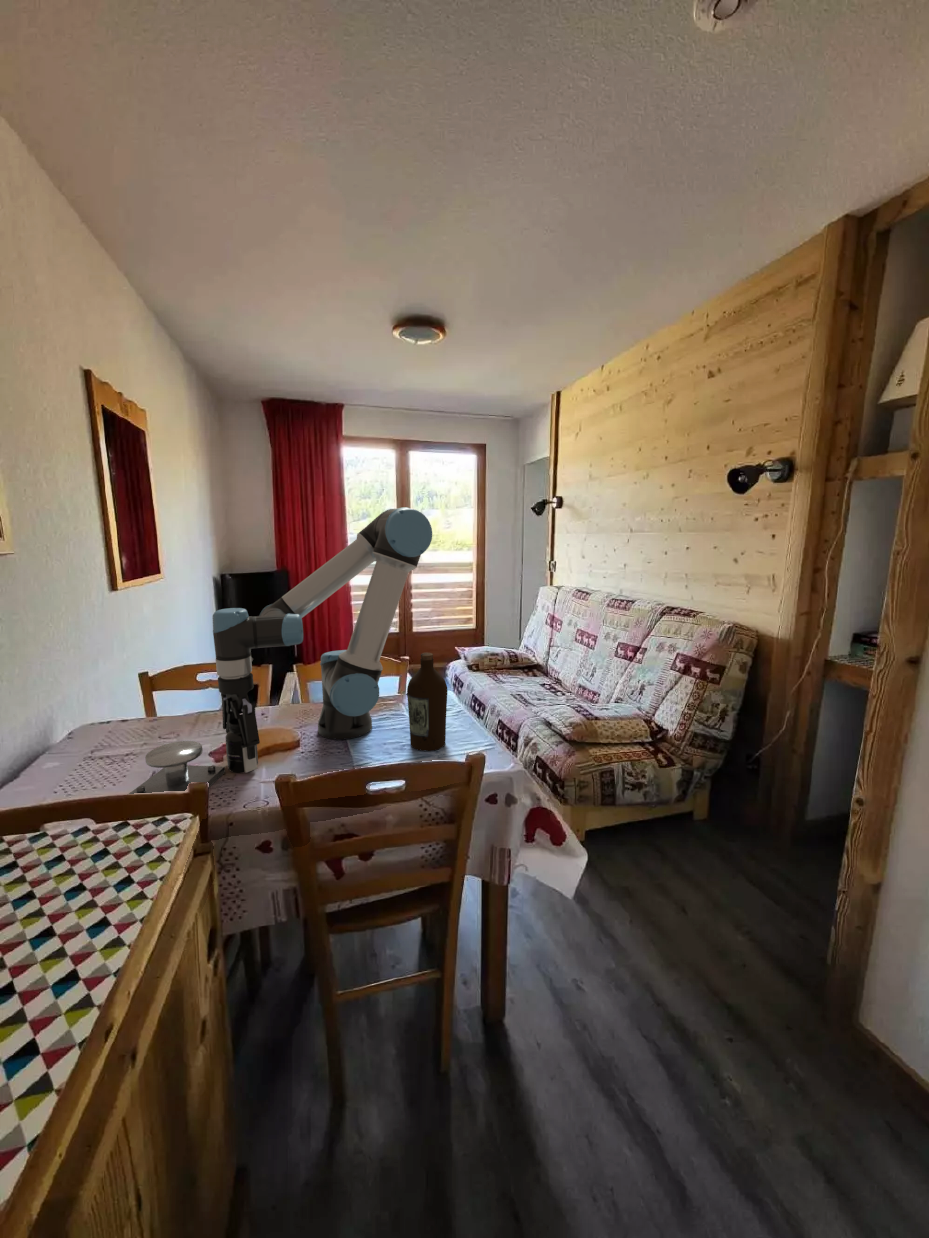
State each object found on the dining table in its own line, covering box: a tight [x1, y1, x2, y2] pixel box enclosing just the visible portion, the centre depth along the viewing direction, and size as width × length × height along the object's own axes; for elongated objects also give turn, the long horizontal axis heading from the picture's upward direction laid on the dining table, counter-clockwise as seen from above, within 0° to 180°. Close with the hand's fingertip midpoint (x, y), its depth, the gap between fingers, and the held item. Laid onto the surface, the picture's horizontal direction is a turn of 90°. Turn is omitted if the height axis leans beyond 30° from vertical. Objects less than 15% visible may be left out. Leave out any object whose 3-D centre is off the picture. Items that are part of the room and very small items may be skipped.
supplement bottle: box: [225, 718, 259, 774], centre depth 121 cm, size 7×7×12 cm
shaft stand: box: [128, 740, 226, 794], centre depth 113 cm, size 14×14×8 cm
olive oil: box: [406, 652, 448, 752], centre depth 133 cm, size 11×11×25 cm
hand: (243, 763), depth 122 cm, fingers open, 8 cm apart
